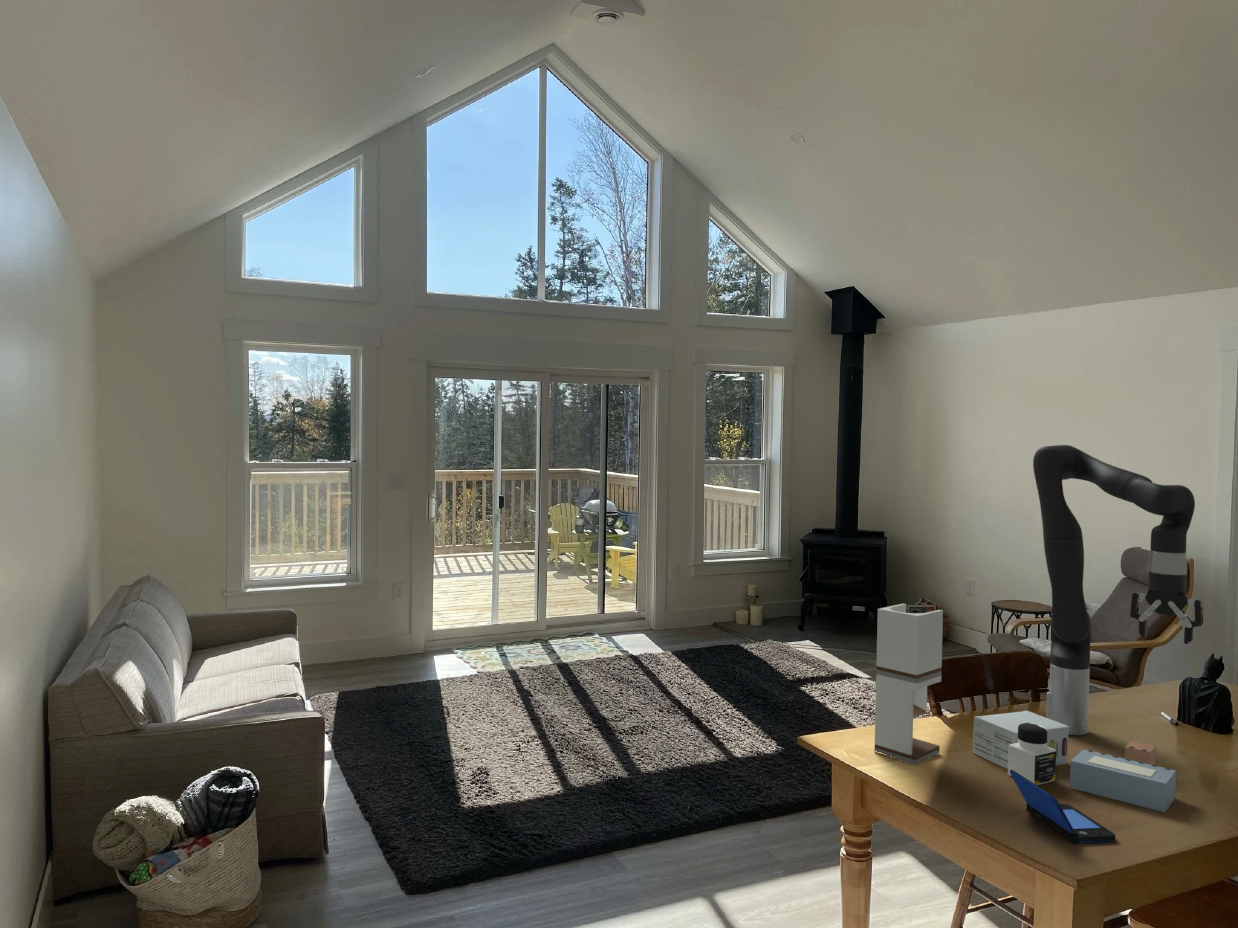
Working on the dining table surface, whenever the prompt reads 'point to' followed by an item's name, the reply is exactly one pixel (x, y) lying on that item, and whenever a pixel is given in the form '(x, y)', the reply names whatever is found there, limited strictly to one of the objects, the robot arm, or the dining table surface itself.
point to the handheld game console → (1060, 814)
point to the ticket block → (1123, 780)
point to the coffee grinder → (905, 679)
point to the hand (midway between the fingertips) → (1165, 640)
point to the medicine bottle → (1032, 754)
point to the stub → (1141, 752)
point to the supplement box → (1014, 735)
